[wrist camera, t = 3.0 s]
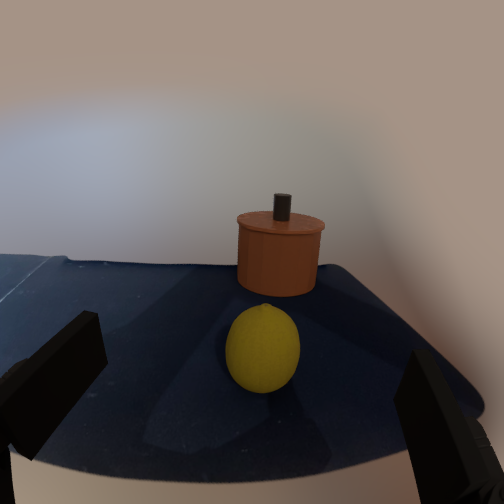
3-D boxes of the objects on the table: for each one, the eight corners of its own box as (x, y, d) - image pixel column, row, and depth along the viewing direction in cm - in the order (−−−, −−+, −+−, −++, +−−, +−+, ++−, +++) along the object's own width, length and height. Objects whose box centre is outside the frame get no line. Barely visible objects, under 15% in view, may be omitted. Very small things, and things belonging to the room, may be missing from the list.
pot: (302, 265, 53) (306, 215, 50) (326, 295, 42) (334, 234, 40) (234, 266, 51) (235, 214, 48) (242, 298, 40) (245, 233, 38)
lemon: (231, 366, 27) (232, 285, 25) (293, 371, 27) (304, 291, 24) (219, 408, 22) (218, 320, 19) (292, 416, 21) (308, 328, 19)
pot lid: (308, 219, 51) (310, 190, 49) (337, 240, 39) (341, 204, 38) (232, 217, 49) (233, 187, 48) (242, 239, 38) (243, 200, 36)
